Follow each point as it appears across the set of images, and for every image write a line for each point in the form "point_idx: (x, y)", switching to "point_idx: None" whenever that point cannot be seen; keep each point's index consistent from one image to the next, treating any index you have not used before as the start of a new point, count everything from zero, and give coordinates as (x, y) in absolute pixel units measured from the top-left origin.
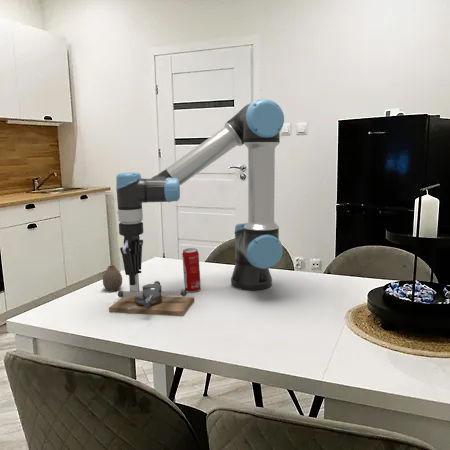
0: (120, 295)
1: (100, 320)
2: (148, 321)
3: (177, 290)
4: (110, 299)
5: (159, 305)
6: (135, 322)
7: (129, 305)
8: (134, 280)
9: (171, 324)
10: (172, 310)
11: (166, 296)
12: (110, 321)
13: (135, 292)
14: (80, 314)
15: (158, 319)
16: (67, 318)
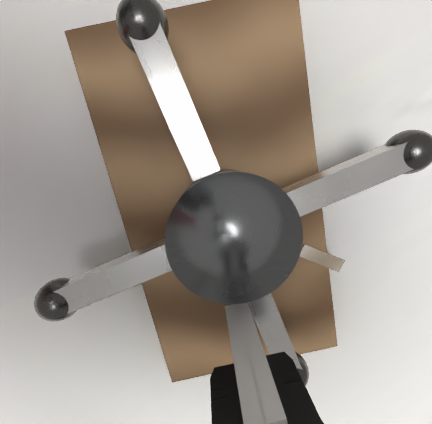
0: (304, 361)
1: (407, 309)
2: (381, 132)
3: (150, 69)
4: (205, 408)
5: (252, 159)
6: (401, 178)
7: (293, 287)
8: (285, 383)
9: (394, 6)
10: (298, 51)
11: (118, 198)
12: (409, 272)
13: (277, 309)
14: (370, 399)
15: (351, 102)
16: (410, 409)
